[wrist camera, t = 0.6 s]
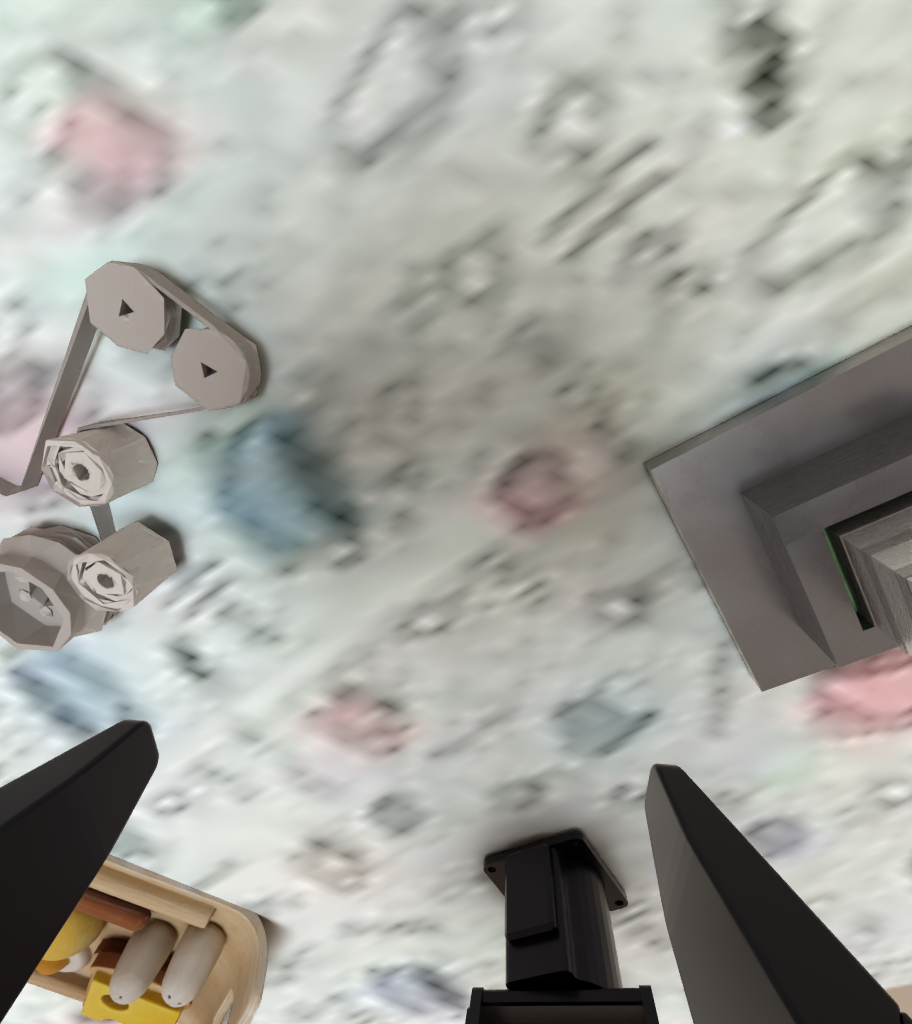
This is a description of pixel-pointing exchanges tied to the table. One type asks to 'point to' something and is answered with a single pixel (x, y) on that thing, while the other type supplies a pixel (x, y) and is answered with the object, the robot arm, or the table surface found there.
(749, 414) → the stand base
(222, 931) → the toy food set
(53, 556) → the pulley system
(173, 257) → the table surface
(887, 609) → the grey slab
